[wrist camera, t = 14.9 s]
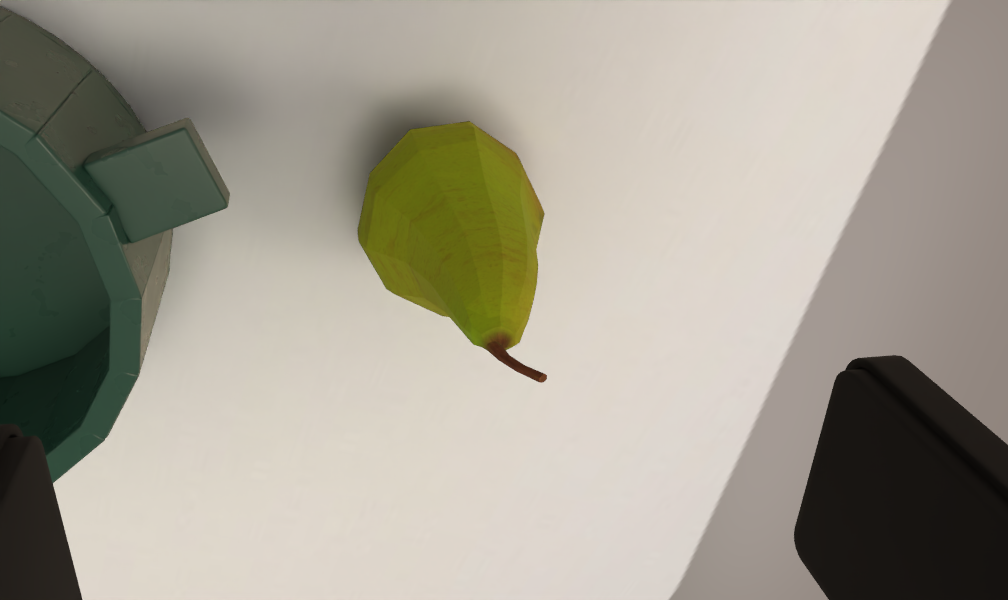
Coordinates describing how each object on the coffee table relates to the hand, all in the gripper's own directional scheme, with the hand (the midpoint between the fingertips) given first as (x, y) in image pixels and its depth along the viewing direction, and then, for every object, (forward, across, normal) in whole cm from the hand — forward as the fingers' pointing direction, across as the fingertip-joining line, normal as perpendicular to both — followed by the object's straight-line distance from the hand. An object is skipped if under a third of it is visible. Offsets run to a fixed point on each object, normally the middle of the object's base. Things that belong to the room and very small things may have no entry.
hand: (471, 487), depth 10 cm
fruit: (+21, -3, +4) cm, 22 cm away
